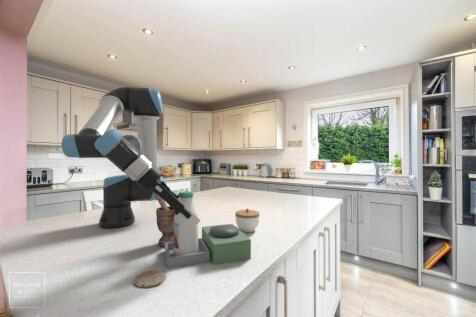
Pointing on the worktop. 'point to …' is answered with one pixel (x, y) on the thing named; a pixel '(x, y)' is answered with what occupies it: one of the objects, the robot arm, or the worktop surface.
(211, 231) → the green box with dome
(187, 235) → the milk bottle
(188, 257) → the grey square tray
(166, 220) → the mortar and pestle
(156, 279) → the flatbread
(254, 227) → the lidded jar
